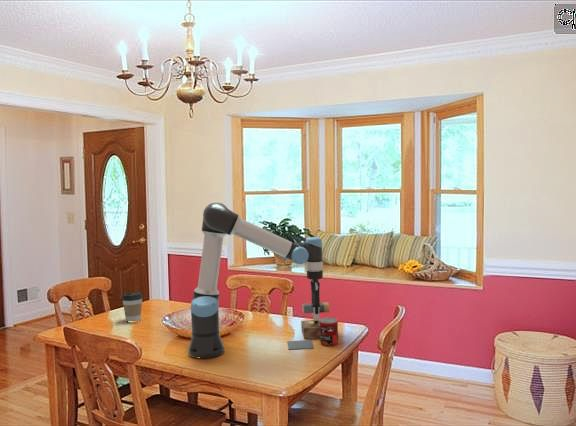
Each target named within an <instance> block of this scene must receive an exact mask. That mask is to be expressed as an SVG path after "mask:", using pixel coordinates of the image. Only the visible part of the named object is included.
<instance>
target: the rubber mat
mask: <svg viewBox="0 0 576 426" xmlns="http://www.w3.org/2000/svg"><path fill="white" fill-rule="evenodd" d="M286 343H287V348H288V351H293V350H295V351H297V350H299V351H300V350H314V349H315V347H314V345H313V341H312V339H303V340H287V341H286Z"/></svg>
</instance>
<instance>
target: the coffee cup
mask: <svg viewBox="0 0 576 426" xmlns="http://www.w3.org/2000/svg"><path fill="white" fill-rule="evenodd" d="M143 296H144V295H143V294H142V293H141V292H140V291H131V292H125V293H123V295H122V296H121V301H122V305H123V310H124V311H123V312H124V315H125V320H126V322H127V321H138V320H140V321H141V318H142V307H143V306H142V305H143V304H142V303H143V299H144V297H143Z"/></svg>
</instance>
